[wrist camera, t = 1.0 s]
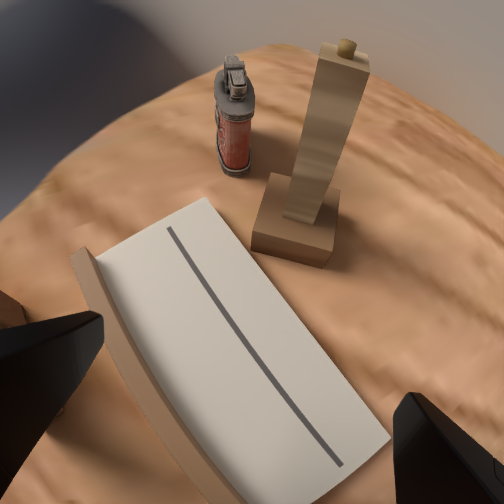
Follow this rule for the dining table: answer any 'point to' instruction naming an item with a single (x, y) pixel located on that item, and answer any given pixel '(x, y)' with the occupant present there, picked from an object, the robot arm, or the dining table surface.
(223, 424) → the board
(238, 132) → the lighter
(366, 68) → the wooden post on base
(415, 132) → the dining table surface
